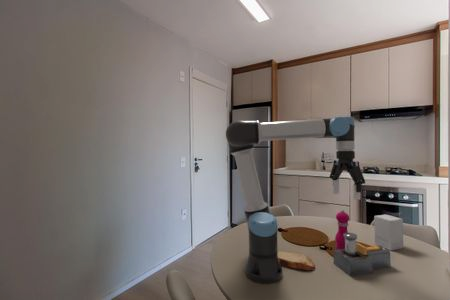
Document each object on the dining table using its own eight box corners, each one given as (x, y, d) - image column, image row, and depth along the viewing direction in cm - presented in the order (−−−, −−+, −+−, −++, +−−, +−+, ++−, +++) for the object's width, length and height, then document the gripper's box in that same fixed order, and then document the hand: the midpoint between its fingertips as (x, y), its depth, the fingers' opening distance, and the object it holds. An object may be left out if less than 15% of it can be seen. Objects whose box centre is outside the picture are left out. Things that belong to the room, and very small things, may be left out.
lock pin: (364, 255, 93) (364, 247, 93) (355, 249, 98) (355, 243, 98) (383, 253, 94) (383, 245, 94) (373, 247, 99) (373, 241, 99)
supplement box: (404, 248, 112) (404, 218, 112) (391, 251, 110) (390, 220, 110) (386, 241, 121) (386, 213, 121) (374, 243, 118) (373, 215, 118)
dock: (350, 276, 89) (349, 258, 89) (333, 263, 99) (333, 247, 99) (395, 270, 93) (395, 253, 93) (375, 258, 102) (375, 243, 102)
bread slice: (262, 257, 106) (262, 249, 106) (295, 251, 111) (295, 244, 111) (282, 277, 89) (282, 268, 89) (319, 270, 94) (319, 261, 94)
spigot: (350, 268, 92) (349, 237, 92) (341, 262, 97) (340, 233, 97) (360, 267, 93) (359, 236, 93) (351, 261, 98) (351, 232, 98)
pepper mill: (334, 250, 111) (334, 210, 111) (335, 244, 118) (334, 206, 118) (351, 253, 108) (350, 212, 108) (351, 247, 114) (350, 208, 114)
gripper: (374, 150, 92) (375, 201, 92) (334, 150, 116) (335, 191, 116) (358, 150, 90) (359, 202, 90) (321, 150, 115) (322, 191, 115)
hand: (346, 196), depth 103 cm, fingers open, 13 cm apart
